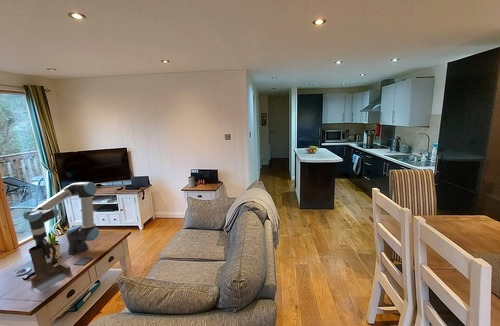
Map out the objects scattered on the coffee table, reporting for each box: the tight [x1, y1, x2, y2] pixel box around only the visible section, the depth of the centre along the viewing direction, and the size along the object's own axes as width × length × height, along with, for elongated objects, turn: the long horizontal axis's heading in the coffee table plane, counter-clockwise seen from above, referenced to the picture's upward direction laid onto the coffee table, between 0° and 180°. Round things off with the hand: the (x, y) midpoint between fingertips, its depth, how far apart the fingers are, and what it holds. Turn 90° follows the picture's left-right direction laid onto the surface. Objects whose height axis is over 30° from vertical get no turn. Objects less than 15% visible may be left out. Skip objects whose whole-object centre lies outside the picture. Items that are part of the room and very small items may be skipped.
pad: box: [33, 271, 69, 292], centre depth 177 cm, size 17×12×1 cm
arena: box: [29, 261, 72, 286], centre depth 178 cm, size 20×14×6 cm
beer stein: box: [28, 242, 58, 275], centre depth 173 cm, size 15×11×20 cm
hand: (46, 260), depth 173 cm, fingers closed on beer stein, 9 cm apart
